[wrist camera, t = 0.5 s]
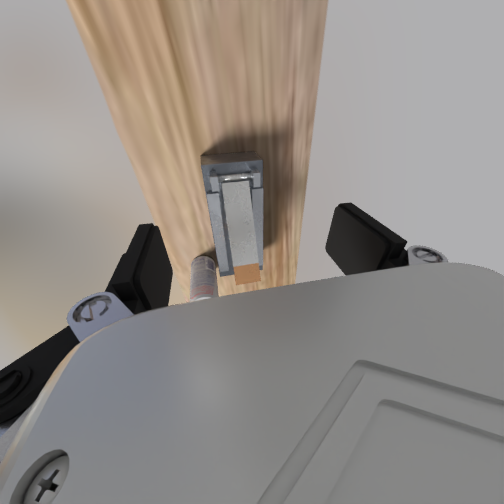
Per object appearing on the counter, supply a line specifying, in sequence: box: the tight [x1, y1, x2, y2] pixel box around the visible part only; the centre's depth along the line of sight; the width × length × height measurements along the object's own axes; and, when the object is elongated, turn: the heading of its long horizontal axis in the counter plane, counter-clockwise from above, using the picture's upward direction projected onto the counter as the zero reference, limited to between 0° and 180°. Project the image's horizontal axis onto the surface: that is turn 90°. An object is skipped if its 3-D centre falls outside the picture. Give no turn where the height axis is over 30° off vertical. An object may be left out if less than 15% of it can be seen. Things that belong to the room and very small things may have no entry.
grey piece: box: [201, 151, 263, 277], centre depth 38 cm, size 22×9×9 cm, turn 2°
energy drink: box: [190, 256, 219, 302], centre depth 43 cm, size 5×5×12 cm
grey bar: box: [221, 181, 261, 285], centre depth 32 cm, size 16×4×1 cm, turn 1°
